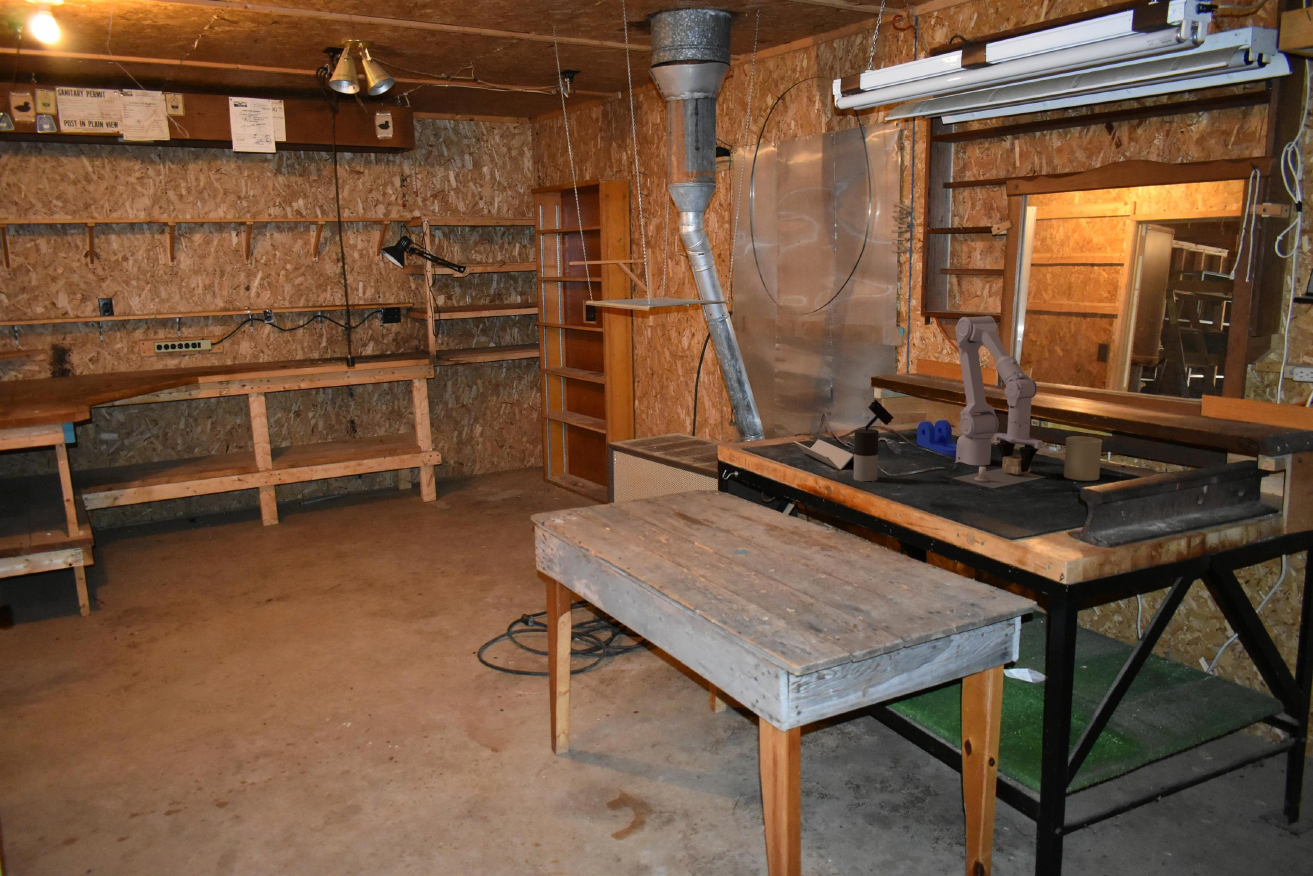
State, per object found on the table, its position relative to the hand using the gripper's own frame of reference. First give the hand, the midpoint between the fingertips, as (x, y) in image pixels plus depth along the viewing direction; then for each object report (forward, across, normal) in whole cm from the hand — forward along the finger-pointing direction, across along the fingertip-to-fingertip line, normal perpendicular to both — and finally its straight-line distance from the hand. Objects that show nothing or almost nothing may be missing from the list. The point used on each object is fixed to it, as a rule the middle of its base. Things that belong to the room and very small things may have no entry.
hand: (1016, 469), depth 258 cm
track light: (+3, -22, -33) cm, 40 cm away
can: (+3, +12, +12) cm, 17 cm away
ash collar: (+1, 0, 0) cm, 1 cm away
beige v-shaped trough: (+3, -47, -28) cm, 54 cm away
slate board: (+2, 0, -7) cm, 7 cm away
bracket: (+3, -37, +12) cm, 39 cm away
